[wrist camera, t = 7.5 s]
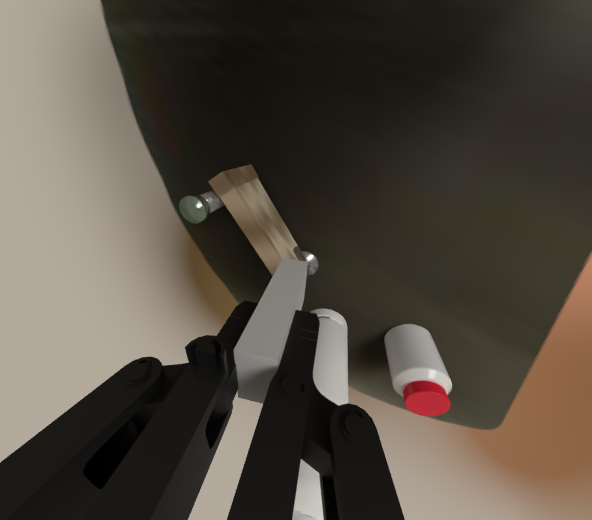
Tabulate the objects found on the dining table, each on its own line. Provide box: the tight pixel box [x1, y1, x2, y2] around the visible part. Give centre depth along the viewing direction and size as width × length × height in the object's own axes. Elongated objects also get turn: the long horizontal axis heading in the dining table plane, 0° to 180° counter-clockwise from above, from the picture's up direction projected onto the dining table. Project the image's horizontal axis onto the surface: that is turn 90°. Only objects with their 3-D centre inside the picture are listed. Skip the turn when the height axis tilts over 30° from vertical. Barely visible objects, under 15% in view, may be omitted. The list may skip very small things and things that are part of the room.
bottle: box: [292, 309, 348, 520], centre depth 29 cm, size 8×8×28 cm
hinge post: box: [301, 250, 319, 280], centre depth 31 cm, size 4×4×12 cm
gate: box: [208, 164, 306, 276], centre depth 28 cm, size 15×2×8 cm, turn 30°
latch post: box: [179, 190, 225, 223], centre depth 27 cm, size 4×4×12 cm
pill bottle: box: [384, 324, 452, 416], centre depth 34 cm, size 8×8×11 cm
